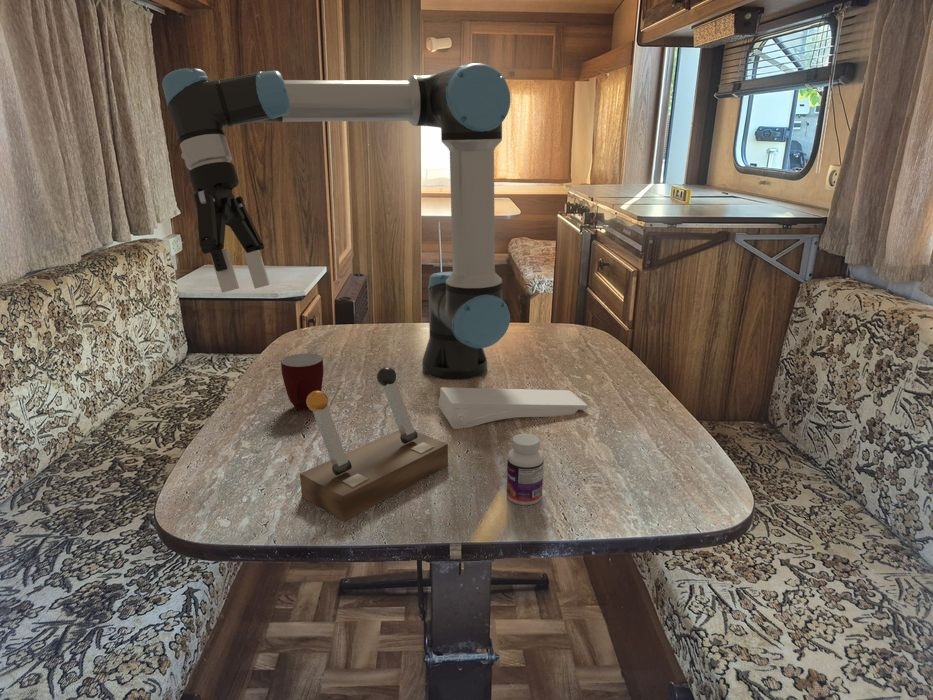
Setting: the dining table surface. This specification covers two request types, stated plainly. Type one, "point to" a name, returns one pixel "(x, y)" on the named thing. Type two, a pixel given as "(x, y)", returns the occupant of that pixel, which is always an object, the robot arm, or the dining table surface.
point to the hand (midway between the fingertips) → (247, 288)
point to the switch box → (373, 473)
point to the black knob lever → (396, 404)
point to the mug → (302, 377)
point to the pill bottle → (525, 470)
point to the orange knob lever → (328, 431)
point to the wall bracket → (504, 404)
